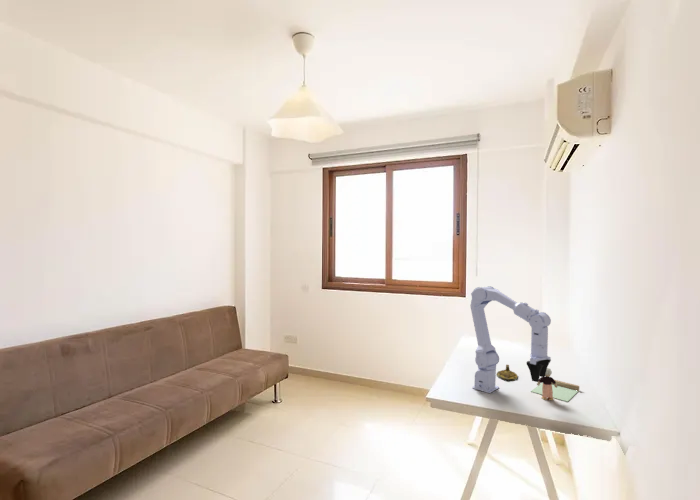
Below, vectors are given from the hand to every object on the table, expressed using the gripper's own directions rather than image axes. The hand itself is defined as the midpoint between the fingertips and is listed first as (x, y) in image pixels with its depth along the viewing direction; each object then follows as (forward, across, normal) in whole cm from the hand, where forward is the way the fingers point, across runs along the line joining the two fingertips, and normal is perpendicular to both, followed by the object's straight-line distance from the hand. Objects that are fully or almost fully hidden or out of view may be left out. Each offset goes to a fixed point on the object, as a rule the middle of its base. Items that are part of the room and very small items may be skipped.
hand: (538, 378), depth 143 cm
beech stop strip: (+10, +30, -1) cm, 32 cm away
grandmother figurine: (+11, +10, 0) cm, 14 cm away
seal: (+11, +25, +21) cm, 35 cm away
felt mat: (+10, +21, 0) cm, 23 cm away
